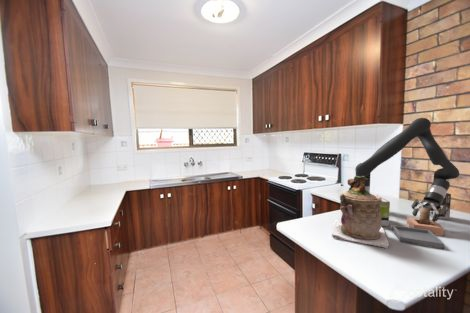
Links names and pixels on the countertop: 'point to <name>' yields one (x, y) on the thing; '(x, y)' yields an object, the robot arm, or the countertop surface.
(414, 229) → the gray tray
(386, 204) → the tea box
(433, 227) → the salmon square ring
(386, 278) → the countertop surface
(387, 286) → the countertop surface
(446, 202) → the coffee box
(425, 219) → the walnut dowel
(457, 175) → the robot arm
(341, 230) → the cookie jar
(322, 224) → the countertop surface
